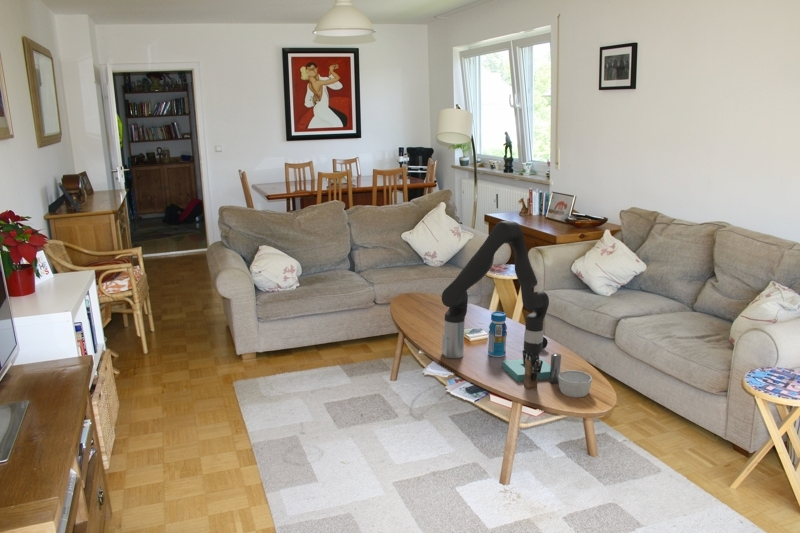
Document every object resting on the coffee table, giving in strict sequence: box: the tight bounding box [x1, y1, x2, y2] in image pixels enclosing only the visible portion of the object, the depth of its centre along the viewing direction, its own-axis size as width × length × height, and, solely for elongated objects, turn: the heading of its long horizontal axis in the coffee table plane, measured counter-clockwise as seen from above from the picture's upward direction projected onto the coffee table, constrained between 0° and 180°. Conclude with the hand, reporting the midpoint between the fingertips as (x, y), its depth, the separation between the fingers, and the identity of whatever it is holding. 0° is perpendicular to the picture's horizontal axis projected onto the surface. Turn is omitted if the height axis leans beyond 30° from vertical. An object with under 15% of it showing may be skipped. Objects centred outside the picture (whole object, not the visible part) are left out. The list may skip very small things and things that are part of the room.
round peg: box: [549, 353, 562, 385], centre depth 280 cm, size 4×4×12 cm
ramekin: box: [558, 369, 593, 398], centre depth 272 cm, size 13×13×7 cm
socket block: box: [501, 356, 551, 382], centre depth 291 cm, size 18×16×3 cm
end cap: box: [542, 336, 549, 351], centre depth 320 cm, size 10×7×7 cm
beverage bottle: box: [487, 311, 508, 358], centre depth 309 cm, size 8×8×20 cm
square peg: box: [523, 359, 539, 390], centre depth 275 cm, size 4×4×12 cm
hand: (531, 378), depth 276 cm, fingers open, 4 cm apart
